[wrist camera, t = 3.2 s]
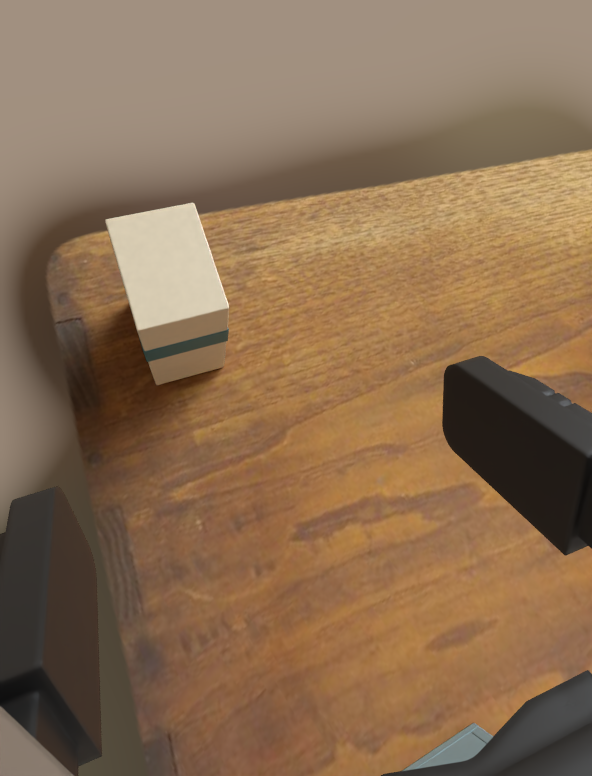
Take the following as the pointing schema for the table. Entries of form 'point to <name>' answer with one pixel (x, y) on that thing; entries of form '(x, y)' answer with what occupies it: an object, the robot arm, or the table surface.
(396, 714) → the table surface
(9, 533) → the robot arm
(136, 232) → the box
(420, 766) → the open box
